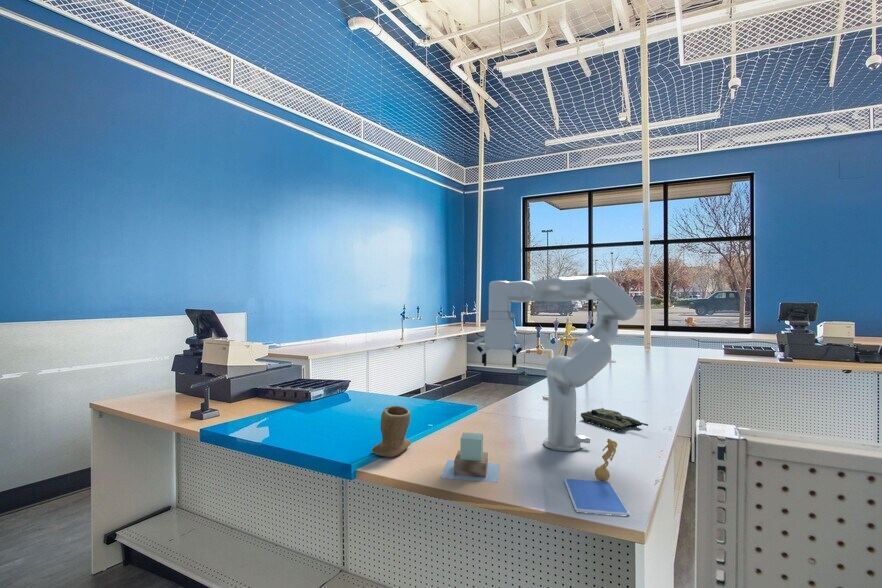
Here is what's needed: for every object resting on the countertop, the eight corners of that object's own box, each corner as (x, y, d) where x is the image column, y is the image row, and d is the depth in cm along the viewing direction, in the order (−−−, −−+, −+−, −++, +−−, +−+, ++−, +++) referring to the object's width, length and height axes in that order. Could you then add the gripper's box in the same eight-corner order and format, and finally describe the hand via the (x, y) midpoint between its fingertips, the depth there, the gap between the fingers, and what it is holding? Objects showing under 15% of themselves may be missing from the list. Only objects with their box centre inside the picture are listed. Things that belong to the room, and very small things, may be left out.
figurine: (591, 474, 126) (591, 433, 127) (612, 476, 126) (613, 434, 126) (598, 486, 118) (598, 442, 118) (621, 488, 117) (621, 443, 118)
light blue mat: (499, 466, 132) (499, 463, 132) (497, 485, 118) (497, 482, 118) (447, 462, 134) (447, 459, 134) (440, 480, 121) (440, 477, 121)
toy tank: (601, 417, 193) (601, 394, 194) (659, 434, 169) (659, 408, 169) (579, 420, 187) (579, 397, 187) (635, 439, 162) (635, 412, 162)
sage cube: (482, 453, 129) (483, 433, 129) (481, 461, 123) (481, 439, 123) (462, 452, 130) (463, 432, 130) (460, 459, 124) (460, 438, 124)
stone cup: (399, 462, 134) (400, 413, 135) (366, 456, 139) (367, 409, 139) (420, 447, 148) (420, 403, 149) (389, 442, 153) (390, 400, 153)
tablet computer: (563, 482, 122) (563, 477, 122) (610, 485, 121) (610, 480, 121) (575, 514, 103) (575, 509, 103) (630, 519, 101) (630, 513, 101)
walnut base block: (487, 465, 130) (487, 452, 130) (485, 477, 121) (485, 463, 121) (458, 463, 131) (458, 450, 132) (453, 475, 123) (454, 460, 123)
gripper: (524, 316, 151) (524, 365, 151) (475, 315, 154) (474, 363, 154) (525, 317, 144) (524, 368, 143) (473, 316, 147) (472, 366, 146)
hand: (499, 366), depth 148 cm, fingers open, 9 cm apart
